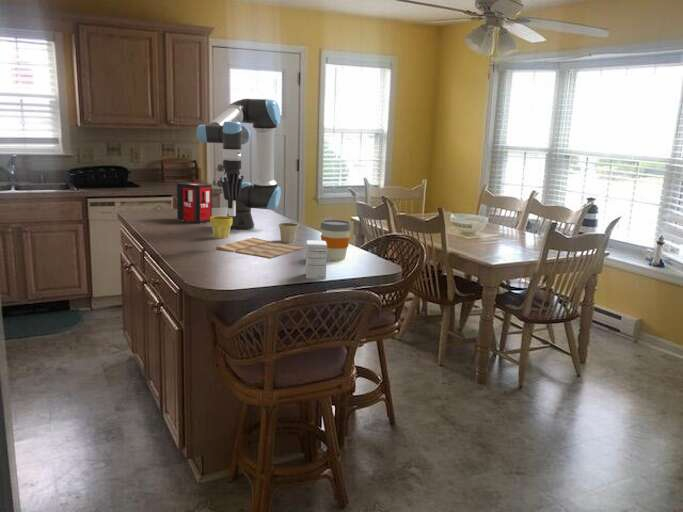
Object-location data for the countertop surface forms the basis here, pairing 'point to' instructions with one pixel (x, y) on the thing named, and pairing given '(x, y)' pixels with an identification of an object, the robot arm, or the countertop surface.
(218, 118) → the robot arm
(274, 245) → the laid floor
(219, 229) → the plant pot
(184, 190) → the cleaning product box
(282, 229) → the flower pot
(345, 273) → the countertop surface
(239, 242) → the board
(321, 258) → the supplement box
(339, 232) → the reusable coffee cup
